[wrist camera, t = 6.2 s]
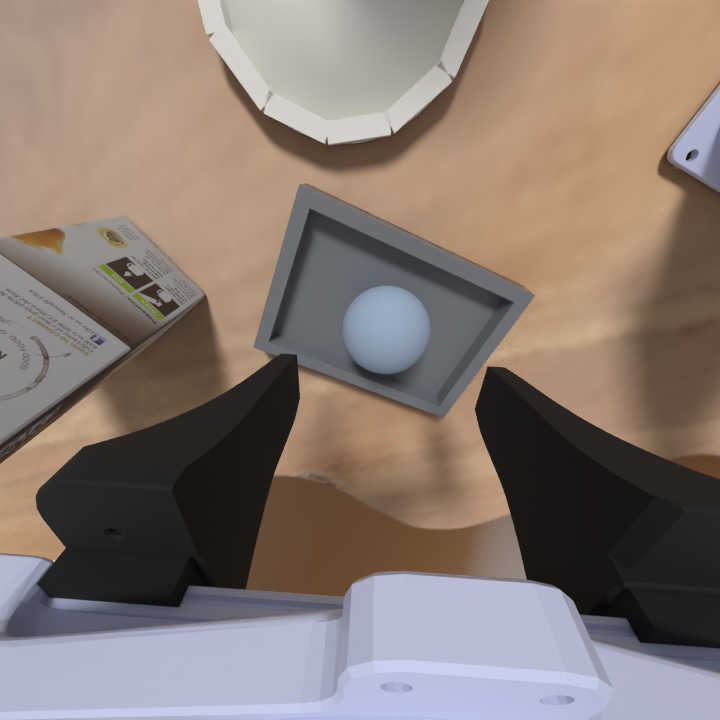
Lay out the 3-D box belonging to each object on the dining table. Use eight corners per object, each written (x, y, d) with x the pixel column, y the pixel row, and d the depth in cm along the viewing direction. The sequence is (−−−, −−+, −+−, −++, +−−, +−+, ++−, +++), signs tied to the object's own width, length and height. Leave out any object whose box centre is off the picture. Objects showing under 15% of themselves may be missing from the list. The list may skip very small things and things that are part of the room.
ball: (424, 272, 19) (443, 302, 15) (420, 345, 21) (435, 389, 17) (340, 276, 19) (335, 307, 15) (346, 349, 22) (344, 393, 17)
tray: (522, 285, 19) (535, 295, 18) (439, 402, 24) (443, 417, 23) (306, 183, 17) (299, 184, 16) (262, 335, 22) (253, 347, 20)
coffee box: (121, 209, 18) (-673, 327, 4) (209, 295, 21) (-125, 544, 7) (47, 299, 21) (-555, 533, 8) (131, 364, 24) (-206, 631, 10)
